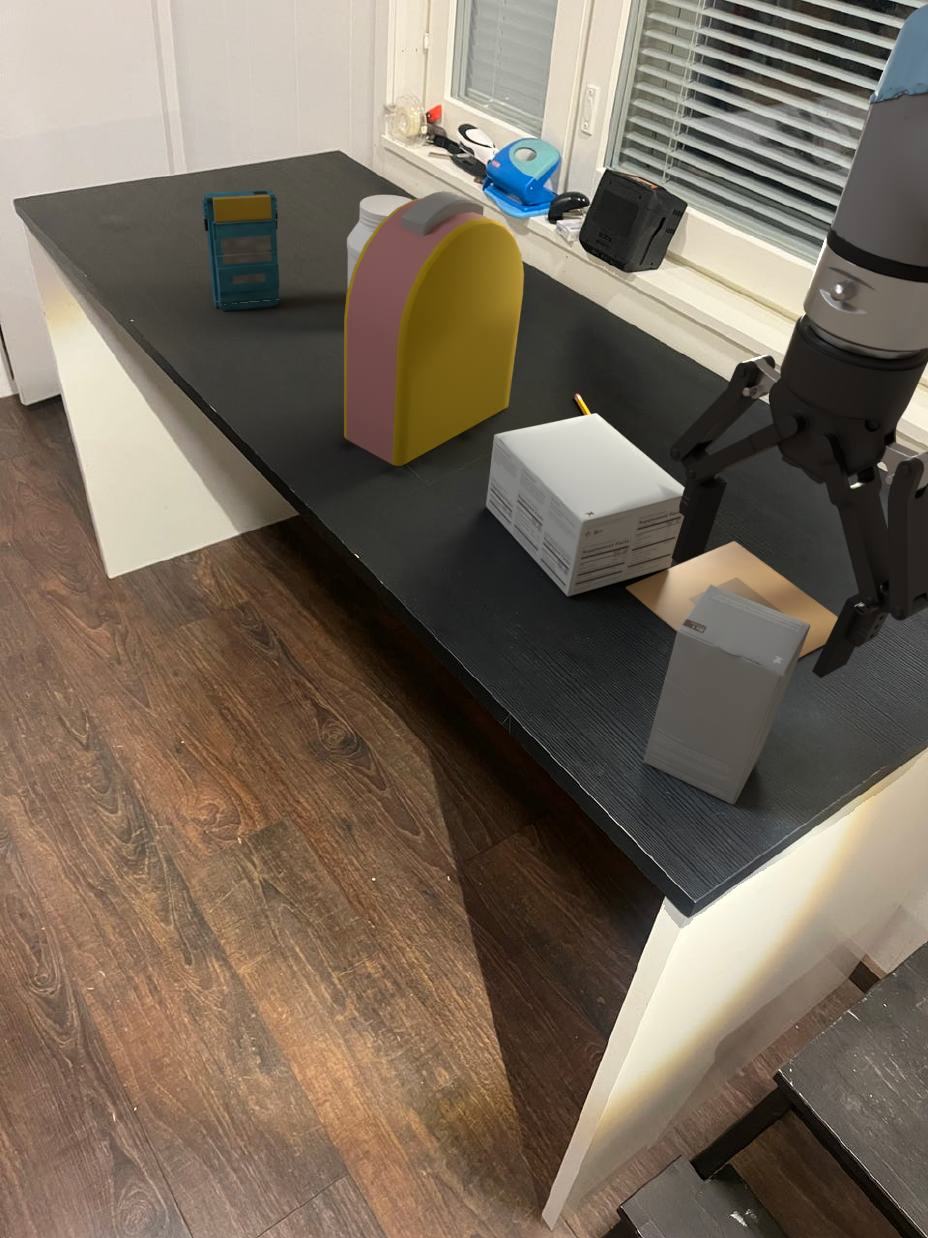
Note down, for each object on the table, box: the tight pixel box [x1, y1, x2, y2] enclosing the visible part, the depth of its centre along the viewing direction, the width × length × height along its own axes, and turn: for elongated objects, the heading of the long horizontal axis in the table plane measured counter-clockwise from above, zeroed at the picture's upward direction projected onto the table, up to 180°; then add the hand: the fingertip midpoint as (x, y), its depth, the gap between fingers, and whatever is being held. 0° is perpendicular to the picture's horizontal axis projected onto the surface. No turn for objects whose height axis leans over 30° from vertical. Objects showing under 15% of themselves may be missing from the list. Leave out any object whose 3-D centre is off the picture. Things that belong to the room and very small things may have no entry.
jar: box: [346, 194, 413, 288], centre depth 132 cm, size 12×10×15 cm
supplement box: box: [485, 413, 685, 597], centre depth 98 cm, size 17×13×9 cm
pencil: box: [573, 393, 591, 416], centre depth 119 cm, size 1×13×1 cm, turn 12°
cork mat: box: [625, 540, 839, 660], centre depth 94 cm, size 16×16×1 cm
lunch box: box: [343, 190, 525, 467], centre depth 107 cm, size 21×9×26 cm, turn 140°
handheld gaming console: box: [201, 189, 280, 312], centre depth 130 cm, size 10×4×15 cm, turn 113°
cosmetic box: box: [642, 584, 810, 805], centre depth 74 cm, size 8×7×16 cm
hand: (754, 609), depth 68 cm, fingers open, 13 cm apart
